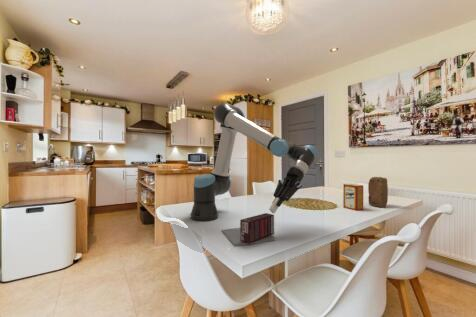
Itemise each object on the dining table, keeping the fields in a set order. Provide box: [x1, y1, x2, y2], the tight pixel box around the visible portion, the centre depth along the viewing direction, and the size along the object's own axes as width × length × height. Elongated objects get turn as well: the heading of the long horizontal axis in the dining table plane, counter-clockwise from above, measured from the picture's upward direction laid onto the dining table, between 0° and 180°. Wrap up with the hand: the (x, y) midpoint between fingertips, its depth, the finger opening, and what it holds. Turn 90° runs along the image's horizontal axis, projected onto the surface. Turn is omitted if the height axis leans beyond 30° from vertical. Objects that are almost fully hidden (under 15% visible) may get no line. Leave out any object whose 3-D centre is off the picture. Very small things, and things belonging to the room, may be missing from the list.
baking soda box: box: [342, 183, 364, 212], centre depth 142 cm, size 10×6×16 cm
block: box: [367, 176, 389, 208], centre depth 150 cm, size 11×8×20 cm
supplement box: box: [239, 212, 275, 245], centre depth 89 cm, size 9×5×16 cm
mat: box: [221, 227, 276, 247], centre depth 93 cm, size 18×17×1 cm
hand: (271, 211), depth 94 cm, fingers closed
